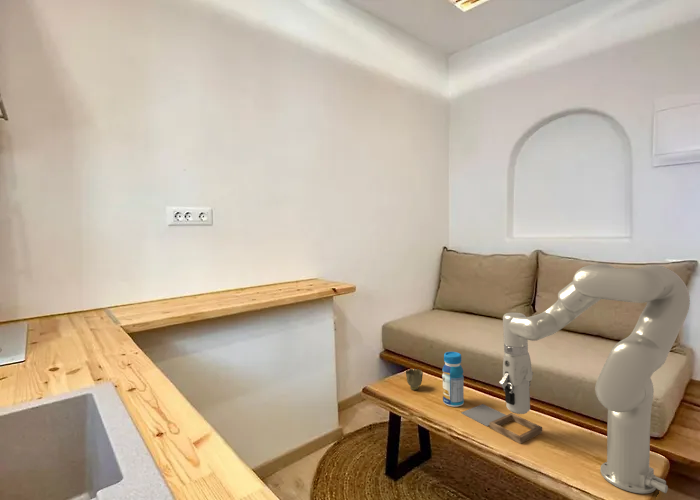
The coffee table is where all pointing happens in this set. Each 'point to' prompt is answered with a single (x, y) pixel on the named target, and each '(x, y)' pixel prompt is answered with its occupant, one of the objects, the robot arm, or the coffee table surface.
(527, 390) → the can
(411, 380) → the cup
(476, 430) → the coffee table surface
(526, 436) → the wooden picture frame
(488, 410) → the mat
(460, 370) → the beverage bottle
